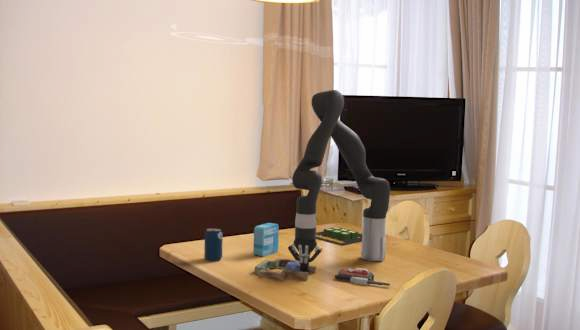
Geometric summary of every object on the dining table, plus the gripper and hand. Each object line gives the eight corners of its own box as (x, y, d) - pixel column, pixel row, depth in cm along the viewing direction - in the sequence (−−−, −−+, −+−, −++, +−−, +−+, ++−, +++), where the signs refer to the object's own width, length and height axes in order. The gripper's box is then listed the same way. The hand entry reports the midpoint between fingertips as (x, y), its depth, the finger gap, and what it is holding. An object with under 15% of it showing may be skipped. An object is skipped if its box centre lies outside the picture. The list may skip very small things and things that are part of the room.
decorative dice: (284, 273, 217) (285, 263, 216) (292, 271, 220) (292, 261, 219) (293, 276, 214) (293, 265, 214) (300, 274, 217) (300, 263, 217)
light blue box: (262, 257, 239) (263, 228, 238) (253, 255, 241) (253, 226, 240) (278, 251, 249) (279, 223, 248) (269, 250, 251) (270, 222, 250)
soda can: (225, 259, 233) (226, 229, 232) (212, 262, 228) (212, 232, 227) (214, 256, 238) (214, 226, 237) (200, 259, 233) (201, 229, 232)
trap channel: (319, 269, 224) (319, 262, 224) (302, 284, 205) (303, 276, 205) (270, 263, 231) (270, 256, 230) (249, 276, 212) (249, 269, 212)
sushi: (302, 236, 281) (303, 229, 281) (338, 230, 298) (339, 223, 298) (342, 247, 263) (342, 238, 263) (377, 239, 280) (378, 232, 280)
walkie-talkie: (332, 282, 210) (389, 289, 203) (333, 269, 210) (389, 277, 203) (339, 275, 218) (393, 282, 212) (339, 263, 218) (394, 270, 211)
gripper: (326, 225, 215) (324, 272, 217) (291, 222, 219) (290, 268, 221) (320, 229, 208) (319, 277, 210) (284, 225, 212) (283, 273, 214)
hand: (304, 272), depth 215 cm, fingers closed
